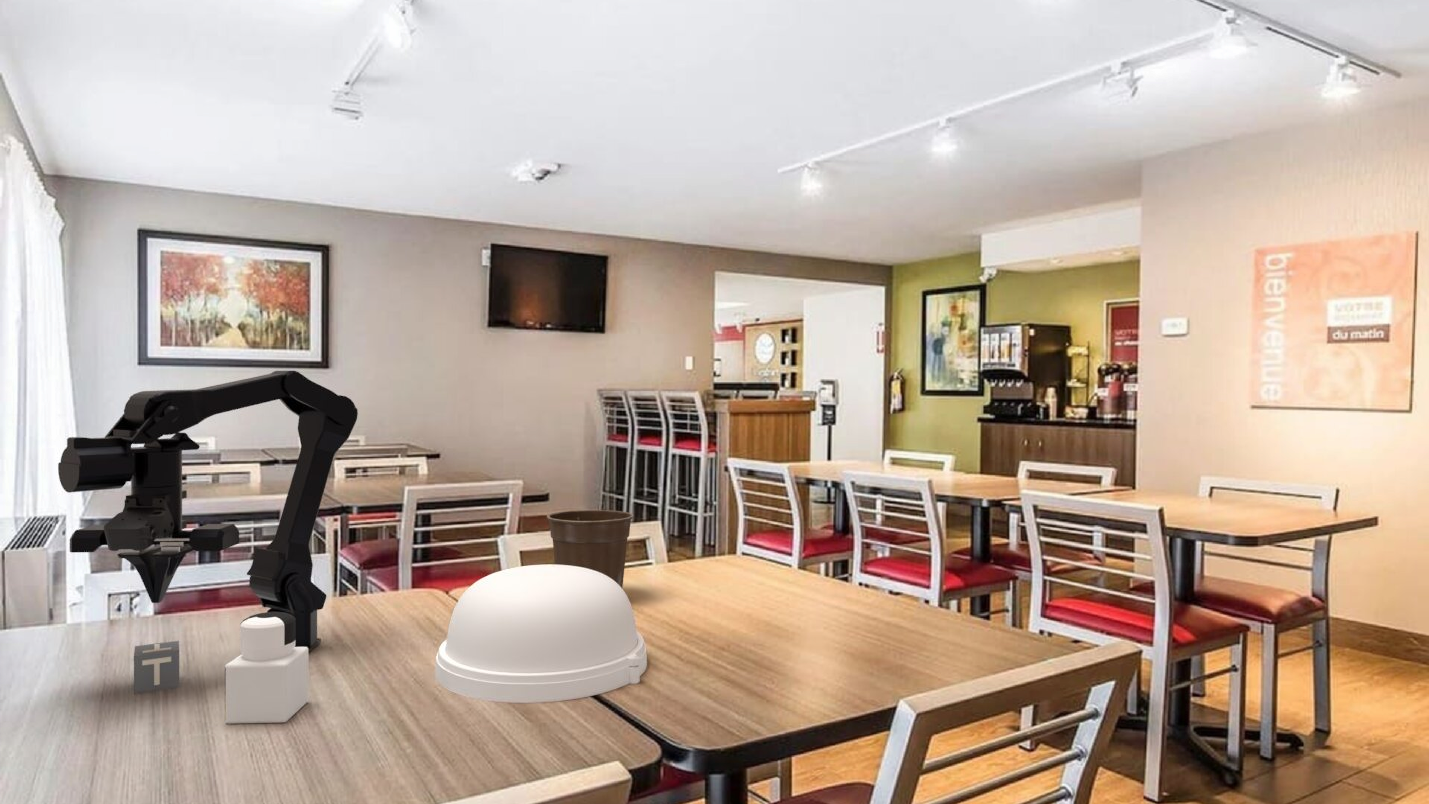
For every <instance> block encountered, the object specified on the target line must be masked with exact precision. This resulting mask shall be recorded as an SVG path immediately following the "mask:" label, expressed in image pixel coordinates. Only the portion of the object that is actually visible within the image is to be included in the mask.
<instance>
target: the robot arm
mask: <svg viewBox="0 0 1429 804" xmlns="http://www.w3.org/2000/svg"><path fill="white" fill-rule="evenodd" d="M277 400H280V401H281V403H282V404H283V405H284V407H286V409H288V410H289V411H290V412H291V413H293V414H294V415H296V416H298V422H297V432H298V437H299V442H300V451H299V454H298V458H297V461H296V465H295V468H294V472H293V475H292V478H291V482H290V484H289V488H288V491H287V496H286V497H285V502H284V506H283V509H282V513H281V515H280V519H279V523H278V526H277V528H276V532H275V535H274V538H273V540H272V541H270V543H269V544H268V545H267V547H266V548H261V547H256V548H255V550H254V553H253V556H252V558H253V559H252V563H251V565H250V568H249V569H248V571H247V573H246V575H247V576H250V577H249V583H248V585H249V588H250V589H251V591H252V593H253V595H255V596H256V597H258V599H259V602H260V604H261V606H262V608H269V609H268V610H267V611H266V612H285V613H288V614H291V615H293V616H294V617H295V647H307V648H308V653H310V652H311V651H313V649H314V648H315V647H317V646H318V645H320V643H321V642H322V638H320V637H319V638H318V611H319V610H323V608H324V606H325V603H326V600H327V594H326V593H325V592H324V591H322V589H320V587H318V586H317V585H316V584H314V583H313V582H312V574H313V566H314V563H313V560H312V553H311V550H310V541H311V539H312V535H313V531H314V529H315V528H314V527H315V524H316V521H317V518H318V513H319V510H320V507H321V503H322V499H323V496H324V492H325V489H326V485H327V481H328V478H329V475H330V472H331V468H332V465H333V461H334V457H335V455H336V454H337V452H338V451H339V449H341V448H342V447H343V445H344V444H345V443H346V442H347V440H348V439H350V435H351V433H352V431H353V429H354V427H355V425H356V422H357V419H358V416H359V413H358V411H359V410H358V408H357V407H356V405H355V403H354V402H353V400H352V399H351V398H349V397H348V396H346V395H342V394H341V395H339V394H337V393H335V392H334V391H333V390H331V389H328V388H326V387H324V386H323V385H320V384H319V383H317V382H314V381H312V380H310V379H309V378H308V377H306V376H305V375H303V374H302V373H300V371H297V370H275V371H272V372H271V373H268V374H262V375H258V376H254V377H249V378H245V379H244V378H242V379H240V380H235V381H230V382H225V383H220V384H214V385H212V386H210V385H209V386H206V387H201V388H196V389H195V388H193V389H165V390H163V389H162V390H144V391H143V390H142V391H139V392H136V393H133V394H132V395H131V396H130V397H129V399H128V400H127V401H126V403H125V405H124V409H123V413H122V415H121V416H120V418H119V419H118V420H117V422H115V424H114V425H113V426H112V427H111V428H110V430H109V431H108V432H107V433H106V434H105V436H104V437H84V436H74V437H73V436H72V437H71V436H70V437H68V438H67V439H66V447H65V448H64V450H63V451H62V453H61V457H60V462H58V463H57V466H58V468H57V469H58V470H57V472H58V479H59V482H60V485H61V486H62V489H63V490H64V491H65V492H66V493H80V492H81V493H82V492H90V491H91V492H93V491H105V490H116V489H117V490H118V489H121V488H123V487H125V485H126V484H127V482H131V483H130V487H131V488H130V491H131V492H130V494H127V495H125V499H124V506H123V509H122V511H121V512H120V511H119V513H117V514H116V515H114V516H113V517H112V518H111V519H110V520H109V521H108V522H107V523H105V524H94V525H91V526H86V527H83V528H78V529H75V531H74V532H73V533H72V534H71V536H70V538H69V552H70V553H95V552H97V550H99V549H100V548H101V547H102V546H107V548H108V550H109V551H113V552H118V551H120V553H117V554H116V556H117V557H118V559H125V560H126V561H128V562H129V563H130V564H131V565H132V566H133V567H134V568H135V570H136V572H137V573H138V575H139V577H140V579H141V581H142V583H143V586H144V588H145V590H146V593H147V595H148V597H149V599H150V600H149V601H150V602H151V603H152V604H160V603H161V602H162V601H163V600H164V597H165V596H166V594H167V591H168V589H169V587H170V586H171V583H172V580H173V578H174V576H175V574H176V573H177V569H178V568H179V566H180V565H181V563H182V561H183V560H184V558H185V557H186V555H187V554H189V553H191V552H194V551H195V552H218V551H219V552H220V551H225V550H226V549H229V548H231V547H234V546H236V545H239V544H240V530H239V528H238V527H237V526H236V525H235V523H207V524H203V525H202V526H198V527H195V528H193V529H192V530H191V529H189V530H186V529H187V528H188V527H187V519H186V520H184V519H183V499H187V497H188V496H187V494H188V493H187V491H188V490H187V489H185V490H183V451H197V450H199V449H200V444H199V443H197V442H196V441H195V440H193V439H191V437H190V436H189V435H188V433H186V432H182V431H185V430H188V429H190V428H192V427H195V426H197V425H198V424H200V423H201V422H203V421H204V420H206V419H208V418H210V417H212V416H216V415H218V414H222V413H226V412H232V411H236V410H239V409H244V408H247V407H252V406H257V405H261V404H264V403H268V402H272V401H277ZM169 435H170V436H171V435H173V436H171V437H170V438H169V437H168V438H161V437H163V436H169ZM132 445H143V446H136V447H133V446H132ZM154 545H155V546H154ZM156 545H159V546H156Z"/></svg>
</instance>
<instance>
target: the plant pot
mask: <svg viewBox="0 0 1429 804" xmlns="http://www.w3.org/2000/svg"><path fill="white" fill-rule="evenodd" d="M546 519H547V520H548V521H549V531H550V537H551V539H552V547H553V556H554V558H553V559H554V565H569V566H577V567H583V568H587V569H591V570H594V571H597V572H600V573H602V574H604V575H606V576H608V577H610V578H611V579H613V580H614V581H615V582H616V583H617V584H618V585H619V586H620V587H621V588H622V589H623V586H624V577H625V576H624V575H625V566H626V556H627V547H628V538H629V537H630V534H631V533H630V531H631V530H630V529H631V524H632V523H631V520H632V519H634V514H633V513H631V512H626V511H621V510H612V509H611V510H606V509H581V510H580V509H577V510H565V511H559V512H558V511H557V512H551V513H549V514H547V515H546Z"/></svg>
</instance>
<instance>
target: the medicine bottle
mask: <svg viewBox="0 0 1429 804" xmlns="http://www.w3.org/2000/svg"><path fill="white" fill-rule="evenodd" d="M239 636H240V637H239V641H240V642H239V647H240V648H239V650H240V651H239V652H240V653H241V654H240V655H239V656H237V657H235V658H234V659H232V660H230V662H228V663H226V664H225V666H224V722H225V724H228V725H229V724H230V725H231V724H233V725H234V724H269V723H270V724H273V723H275V724H276V723H279V724H280V723H287V722H288V721H289V720H290V719H291V718H292V717H293V716H294V715H296V713H297V712H299V710H301V708H302V707H304V706H305V705H306V704H307V703H308V701H309V652H308V648H307V647H295V617H294V616H293V615H291V614H288V613H285V612H267V611H266V612H261V613H255V614H252V615H249V616H248V617H246V618H244V619H243V620H242V621H241V622H240V624H239Z"/></svg>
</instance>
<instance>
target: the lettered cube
mask: <svg viewBox="0 0 1429 804" xmlns="http://www.w3.org/2000/svg"><path fill="white" fill-rule="evenodd" d="M176 688H180V640H173V641H172V640H171V641H165V642H158V643H149V644H141V645H135V646H134V653H133V694H134V695H136V694H142V693H150V692H155V691H164V690H168V689H176Z"/></svg>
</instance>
